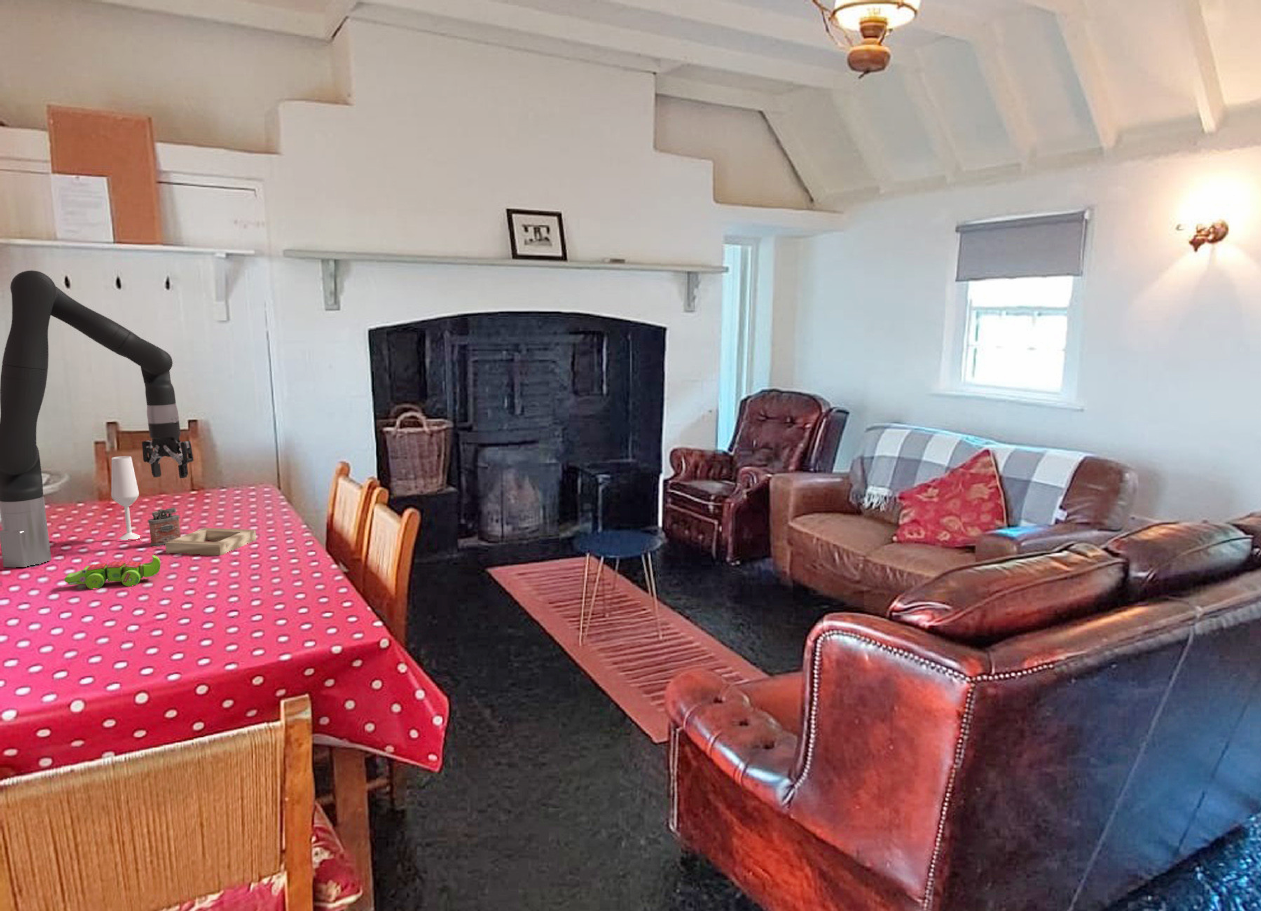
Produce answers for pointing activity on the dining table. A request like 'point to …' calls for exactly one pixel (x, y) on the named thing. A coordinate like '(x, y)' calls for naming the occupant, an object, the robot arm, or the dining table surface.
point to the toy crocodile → (114, 573)
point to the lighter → (164, 526)
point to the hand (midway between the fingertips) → (170, 477)
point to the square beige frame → (225, 538)
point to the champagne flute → (124, 489)
